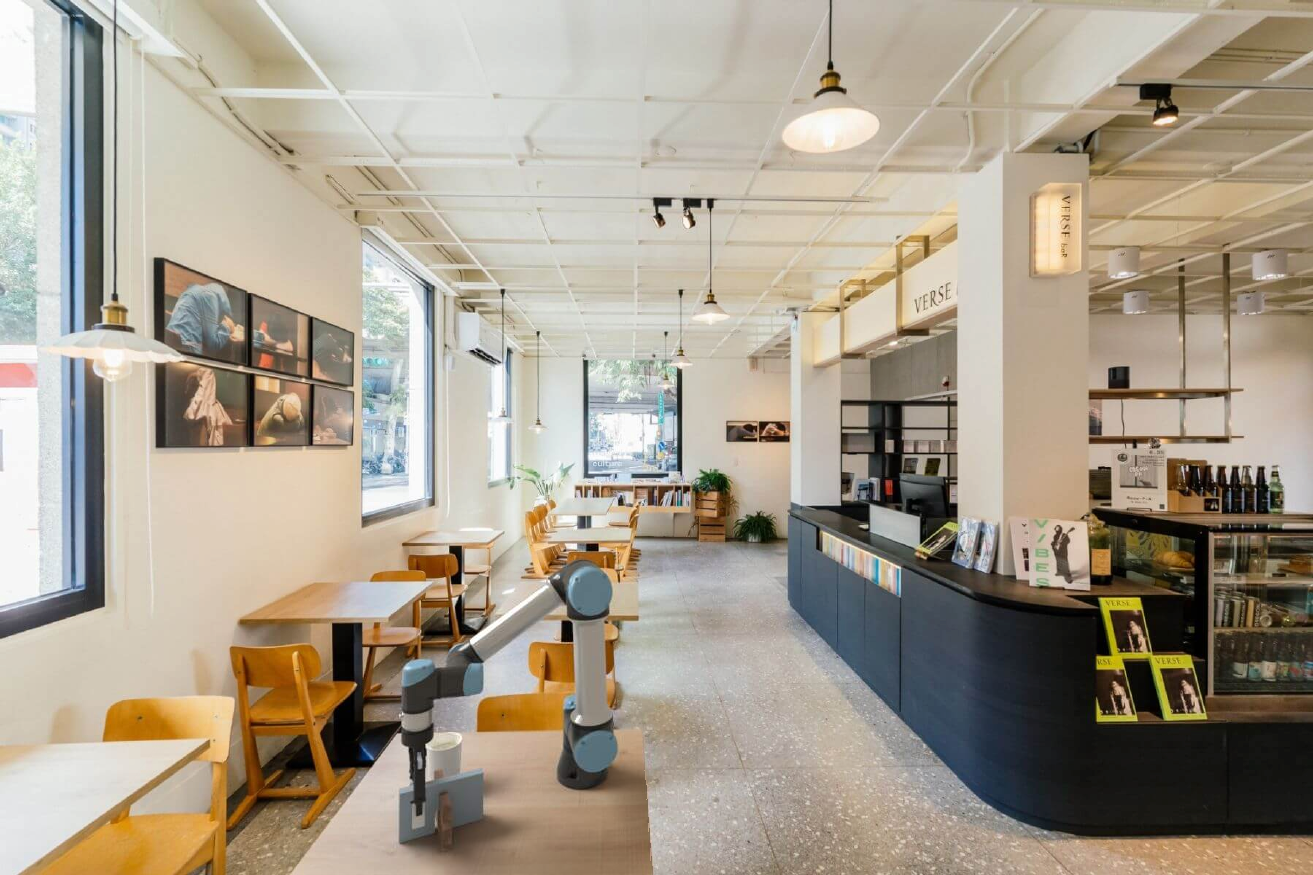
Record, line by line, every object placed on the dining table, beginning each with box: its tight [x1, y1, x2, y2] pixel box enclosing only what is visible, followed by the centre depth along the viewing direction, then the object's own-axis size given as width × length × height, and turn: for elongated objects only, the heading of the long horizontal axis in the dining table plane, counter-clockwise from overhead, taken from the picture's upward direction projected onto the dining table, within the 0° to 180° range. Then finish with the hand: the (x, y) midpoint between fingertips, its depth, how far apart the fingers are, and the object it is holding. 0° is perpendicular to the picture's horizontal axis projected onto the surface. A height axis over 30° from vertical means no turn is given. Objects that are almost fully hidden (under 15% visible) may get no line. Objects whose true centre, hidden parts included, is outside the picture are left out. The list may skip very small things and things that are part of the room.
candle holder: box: [426, 731, 464, 782], centre depth 164 cm, size 10×10×12 cm
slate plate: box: [397, 767, 485, 844], centre depth 145 cm, size 20×2×12 cm, turn 118°
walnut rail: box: [434, 769, 453, 852], centre depth 145 cm, size 2×18×10 cm, turn 27°
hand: (416, 815), depth 142 cm, fingers open, 8 cm apart
